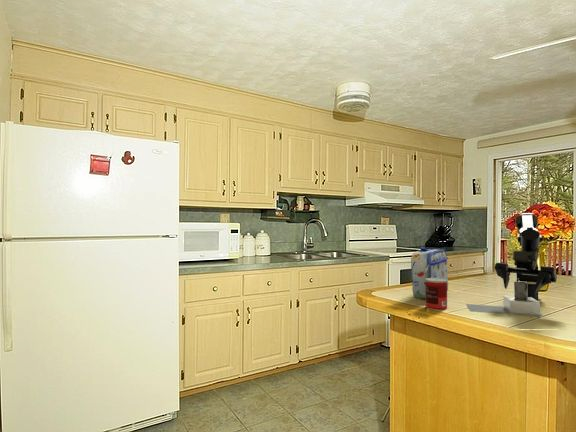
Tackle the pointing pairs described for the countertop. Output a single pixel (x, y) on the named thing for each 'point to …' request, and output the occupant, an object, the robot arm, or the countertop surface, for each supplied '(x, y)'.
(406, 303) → the countertop surface
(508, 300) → the grey cylinder on plate
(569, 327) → the countertop surface
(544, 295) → the countertop surface
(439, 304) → the canned food
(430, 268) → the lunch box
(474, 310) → the slate mat
